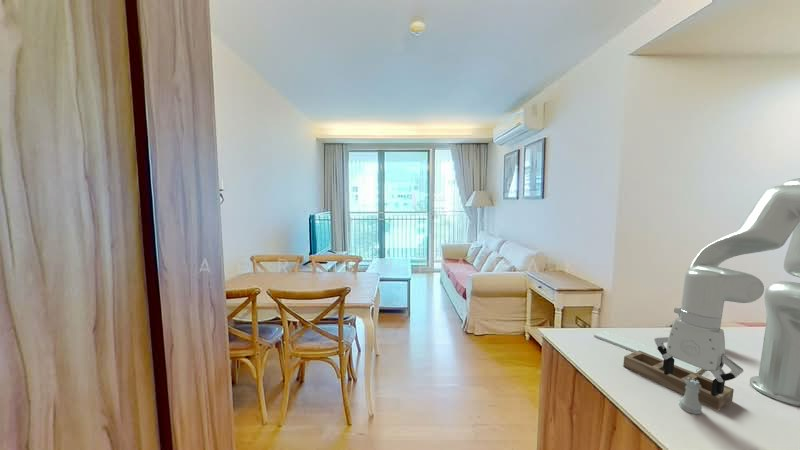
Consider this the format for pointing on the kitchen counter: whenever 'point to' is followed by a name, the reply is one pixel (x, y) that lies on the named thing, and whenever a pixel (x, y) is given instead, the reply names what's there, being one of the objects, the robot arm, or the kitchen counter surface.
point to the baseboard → (642, 349)
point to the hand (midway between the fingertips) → (690, 383)
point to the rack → (676, 378)
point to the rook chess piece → (691, 397)
